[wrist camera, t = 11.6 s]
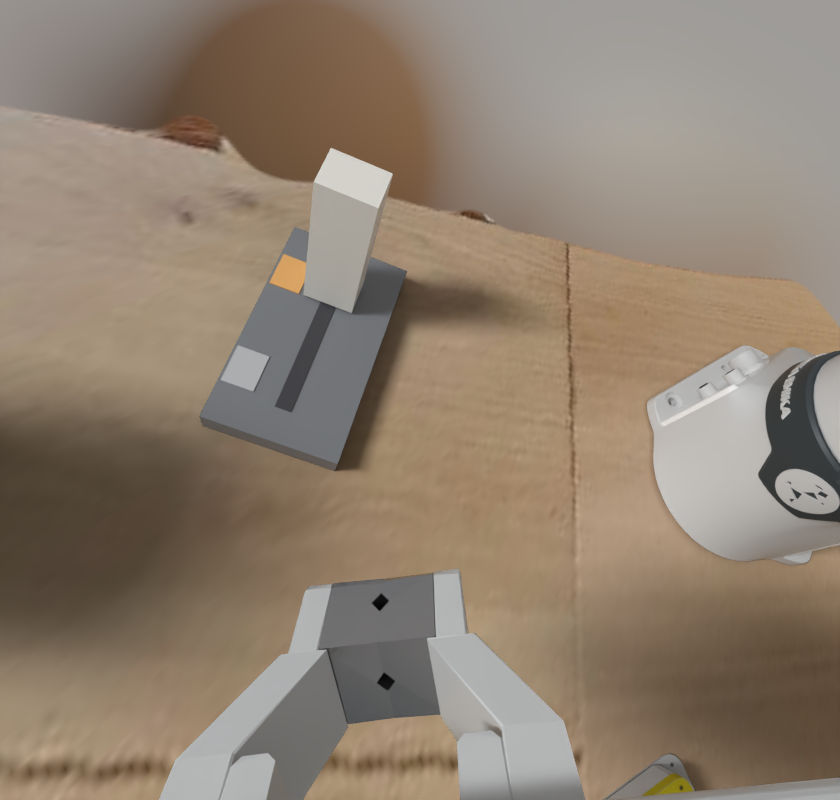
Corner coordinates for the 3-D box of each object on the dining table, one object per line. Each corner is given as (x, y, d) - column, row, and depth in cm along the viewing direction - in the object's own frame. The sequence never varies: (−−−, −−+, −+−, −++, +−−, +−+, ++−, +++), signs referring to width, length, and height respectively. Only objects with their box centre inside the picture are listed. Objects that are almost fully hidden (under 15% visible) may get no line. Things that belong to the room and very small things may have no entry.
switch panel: (334, 471, 39) (337, 463, 37) (202, 425, 38) (198, 415, 36) (401, 284, 47) (407, 270, 45) (293, 242, 46) (294, 226, 44)
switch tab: (351, 313, 42) (378, 208, 31) (303, 294, 42) (313, 181, 31) (363, 284, 43) (392, 173, 33) (316, 266, 43) (331, 147, 32)
